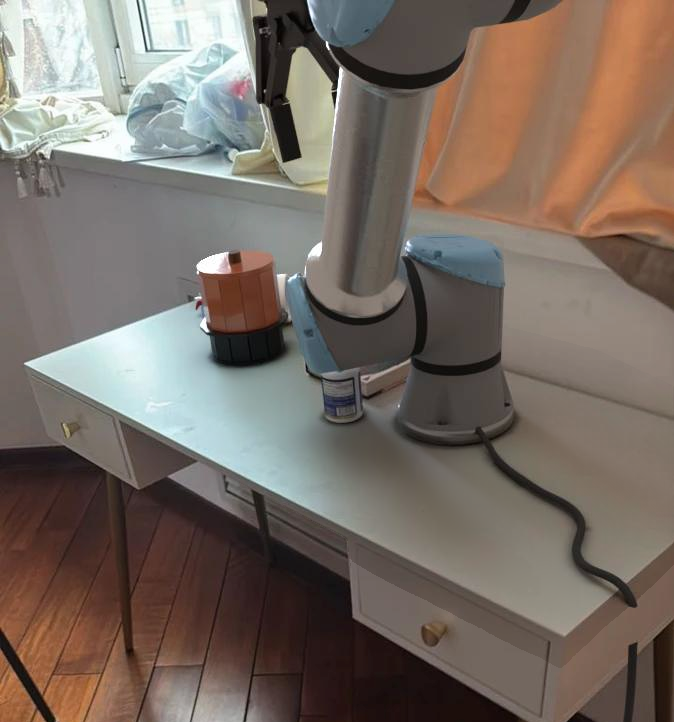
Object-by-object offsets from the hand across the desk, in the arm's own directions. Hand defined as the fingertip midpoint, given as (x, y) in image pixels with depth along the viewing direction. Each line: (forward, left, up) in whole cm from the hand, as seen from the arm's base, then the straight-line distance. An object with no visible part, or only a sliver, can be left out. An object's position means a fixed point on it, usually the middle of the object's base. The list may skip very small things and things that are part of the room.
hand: (321, 155), depth 109 cm
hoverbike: (+41, +4, -31) cm, 51 cm away
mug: (+31, +1, -31) cm, 44 cm away
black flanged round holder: (+21, +7, -31) cm, 38 cm away
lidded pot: (+21, +7, -25) cm, 34 cm away
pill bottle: (-10, +4, -31) cm, 33 cm away
